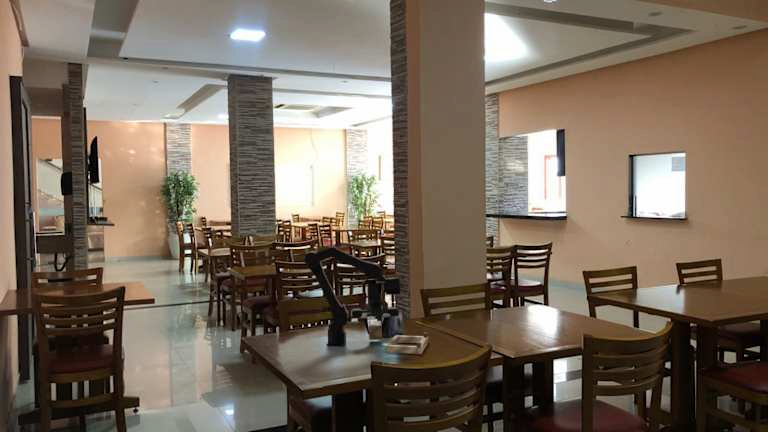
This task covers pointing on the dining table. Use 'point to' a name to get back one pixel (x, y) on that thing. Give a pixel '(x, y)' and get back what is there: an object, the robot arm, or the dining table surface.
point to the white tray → (420, 341)
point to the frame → (375, 330)
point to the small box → (392, 325)
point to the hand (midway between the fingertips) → (375, 333)
